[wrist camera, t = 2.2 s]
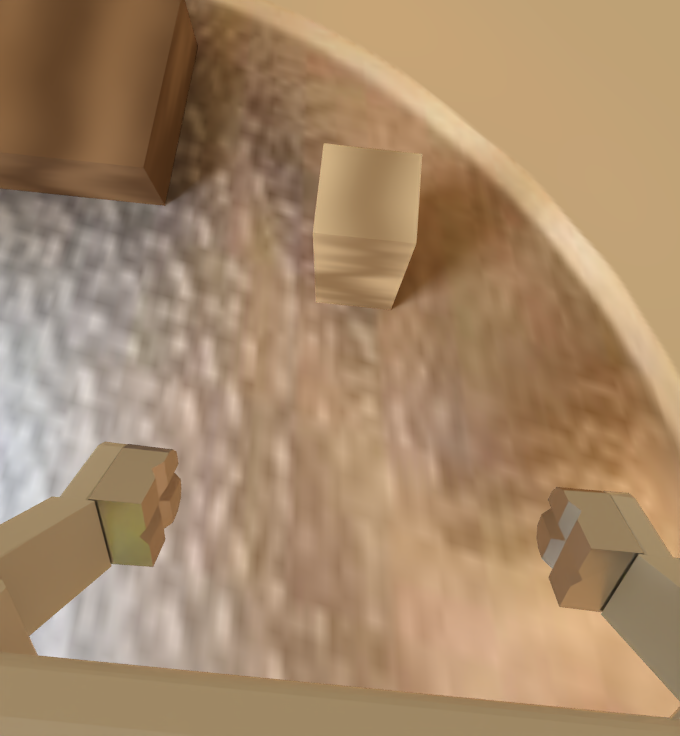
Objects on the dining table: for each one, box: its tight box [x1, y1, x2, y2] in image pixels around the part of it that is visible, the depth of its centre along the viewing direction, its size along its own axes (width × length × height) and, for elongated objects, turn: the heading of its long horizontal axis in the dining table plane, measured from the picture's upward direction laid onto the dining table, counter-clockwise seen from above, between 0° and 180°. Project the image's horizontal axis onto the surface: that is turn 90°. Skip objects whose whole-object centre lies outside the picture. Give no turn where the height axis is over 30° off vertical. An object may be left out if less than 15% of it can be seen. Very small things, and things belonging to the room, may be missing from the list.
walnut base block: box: [0, 0, 198, 206], centre depth 29 cm, size 12×12×4 cm
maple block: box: [313, 143, 422, 310], centre depth 25 cm, size 4×4×8 cm
